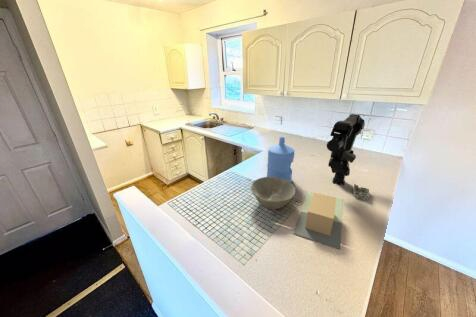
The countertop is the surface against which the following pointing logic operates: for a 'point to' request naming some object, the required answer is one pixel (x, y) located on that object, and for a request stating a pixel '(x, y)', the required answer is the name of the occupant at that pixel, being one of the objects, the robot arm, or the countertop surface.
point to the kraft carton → (321, 213)
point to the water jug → (280, 161)
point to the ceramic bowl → (273, 192)
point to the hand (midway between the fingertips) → (333, 172)
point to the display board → (331, 240)
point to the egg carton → (360, 194)
